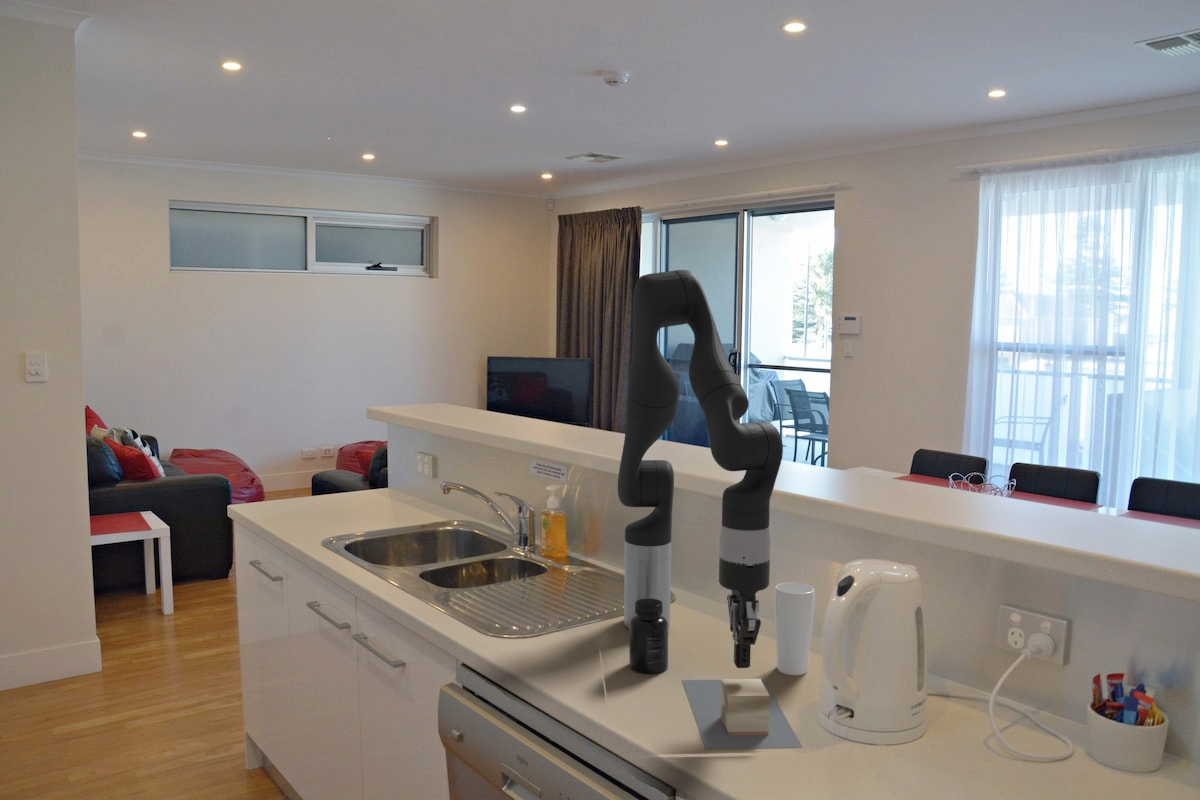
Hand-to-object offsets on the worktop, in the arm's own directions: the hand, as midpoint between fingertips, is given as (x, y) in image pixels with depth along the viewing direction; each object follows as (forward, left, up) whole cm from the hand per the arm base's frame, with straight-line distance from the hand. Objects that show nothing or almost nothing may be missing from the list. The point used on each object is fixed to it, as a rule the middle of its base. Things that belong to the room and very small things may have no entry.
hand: (741, 666), depth 135 cm
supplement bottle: (-20, -12, -9) cm, 25 cm away
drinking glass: (-18, +13, -9) cm, 24 cm away
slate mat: (-2, 0, -9) cm, 9 cm away
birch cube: (+3, 0, -2) cm, 3 cm away
